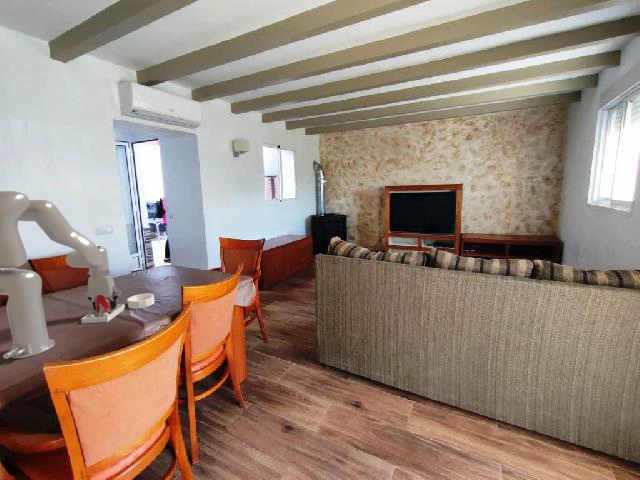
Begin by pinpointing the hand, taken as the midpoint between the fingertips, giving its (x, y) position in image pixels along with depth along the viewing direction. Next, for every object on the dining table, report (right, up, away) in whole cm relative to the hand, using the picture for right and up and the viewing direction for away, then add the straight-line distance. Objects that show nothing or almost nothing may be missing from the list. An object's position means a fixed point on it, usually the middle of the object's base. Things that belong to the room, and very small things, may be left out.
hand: (105, 308), depth 145 cm
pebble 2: (+4, -4, -5) cm, 7 cm away
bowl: (+10, -1, +14) cm, 17 cm away
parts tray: (0, -3, 0) cm, 4 cm away
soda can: (0, -3, +1) cm, 3 cm away
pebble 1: (-2, -4, -6) cm, 7 cm away
